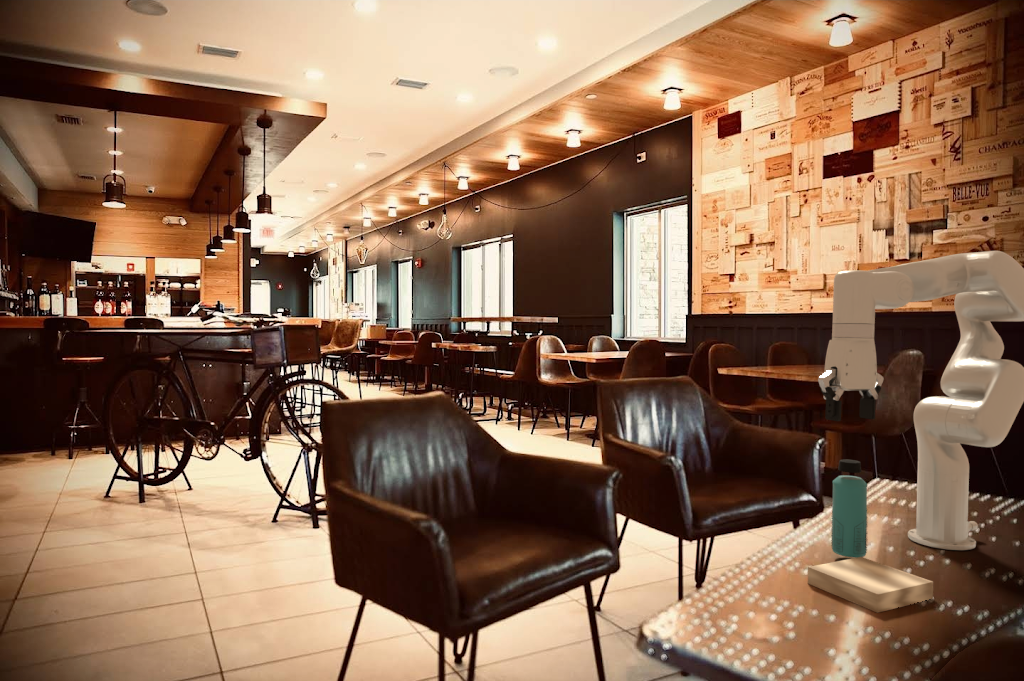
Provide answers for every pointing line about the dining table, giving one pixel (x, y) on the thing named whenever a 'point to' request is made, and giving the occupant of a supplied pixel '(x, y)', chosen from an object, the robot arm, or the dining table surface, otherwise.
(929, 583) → the birch plinth
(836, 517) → the beverage bottle
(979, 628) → the dining table surface
